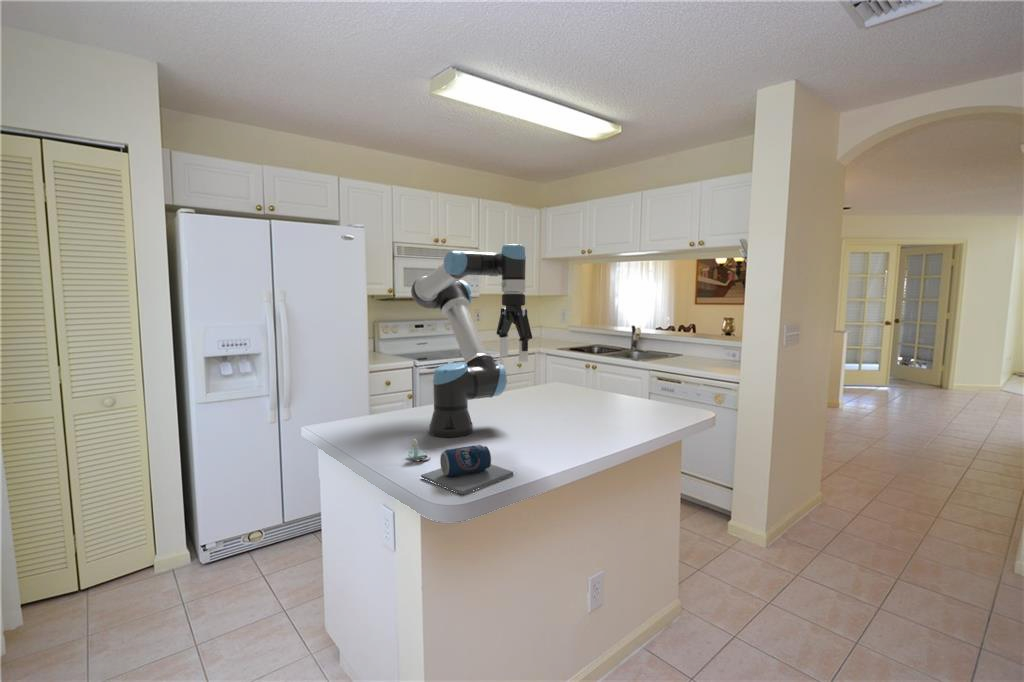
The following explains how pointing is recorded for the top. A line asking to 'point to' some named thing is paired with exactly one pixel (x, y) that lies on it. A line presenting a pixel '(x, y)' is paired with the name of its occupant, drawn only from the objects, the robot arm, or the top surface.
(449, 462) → the soda can
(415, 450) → the pacifier
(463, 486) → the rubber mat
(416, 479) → the top surface
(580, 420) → the top surface
